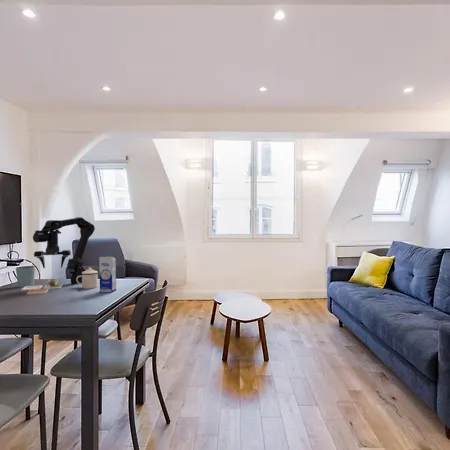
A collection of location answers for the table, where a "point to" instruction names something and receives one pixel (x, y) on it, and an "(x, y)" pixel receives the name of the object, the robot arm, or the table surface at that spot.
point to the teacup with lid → (89, 279)
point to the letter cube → (53, 283)
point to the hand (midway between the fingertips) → (52, 268)
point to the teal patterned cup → (25, 276)
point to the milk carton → (107, 274)
